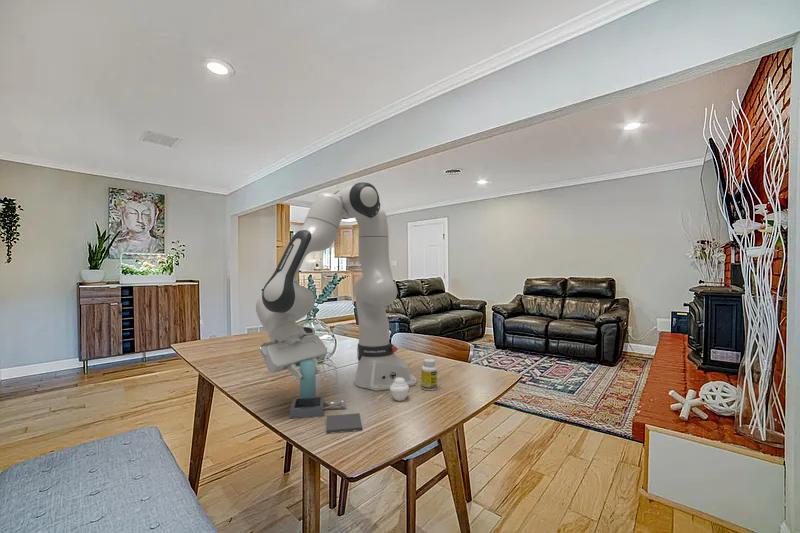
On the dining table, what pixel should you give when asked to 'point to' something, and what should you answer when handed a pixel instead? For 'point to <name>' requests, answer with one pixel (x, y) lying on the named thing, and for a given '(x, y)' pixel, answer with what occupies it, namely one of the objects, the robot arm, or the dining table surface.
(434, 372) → the supplement bottle
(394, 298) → the robot arm
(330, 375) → the dining table surface
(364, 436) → the dining table surface
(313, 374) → the teal peg
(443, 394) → the dining table surface
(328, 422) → the rubber mat
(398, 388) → the muffin
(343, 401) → the socket
